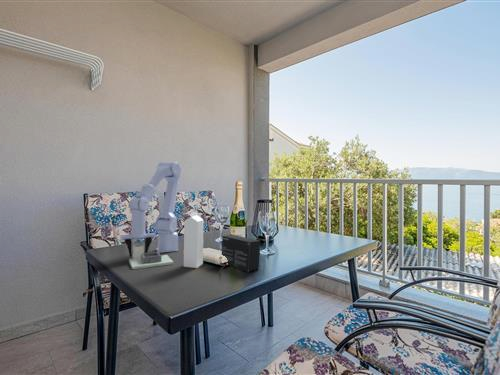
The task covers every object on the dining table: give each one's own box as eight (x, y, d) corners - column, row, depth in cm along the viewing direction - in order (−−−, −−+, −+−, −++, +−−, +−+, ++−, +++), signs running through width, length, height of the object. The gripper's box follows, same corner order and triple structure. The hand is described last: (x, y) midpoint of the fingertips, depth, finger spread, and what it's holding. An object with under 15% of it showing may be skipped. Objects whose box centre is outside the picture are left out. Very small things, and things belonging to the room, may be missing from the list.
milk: (183, 266, 113) (183, 213, 113) (190, 262, 119) (190, 211, 119) (197, 268, 112) (197, 213, 111) (203, 263, 118) (203, 212, 117)
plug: (142, 257, 126) (142, 242, 125) (143, 259, 122) (143, 244, 122) (132, 258, 124) (133, 243, 123) (133, 260, 120) (134, 245, 120)
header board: (166, 256, 127) (167, 249, 127) (173, 264, 116) (173, 255, 116) (128, 261, 119) (128, 253, 119) (132, 269, 109) (132, 260, 109)
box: (260, 269, 112) (260, 240, 112) (248, 273, 108) (249, 242, 107) (232, 260, 124) (232, 233, 124) (220, 263, 120) (221, 235, 119)
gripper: (121, 227, 115) (121, 259, 116) (157, 225, 122) (157, 255, 123) (119, 224, 122) (119, 255, 122) (154, 222, 129) (154, 251, 129)
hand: (138, 255), depth 123 cm, fingers open, 6 cm apart
